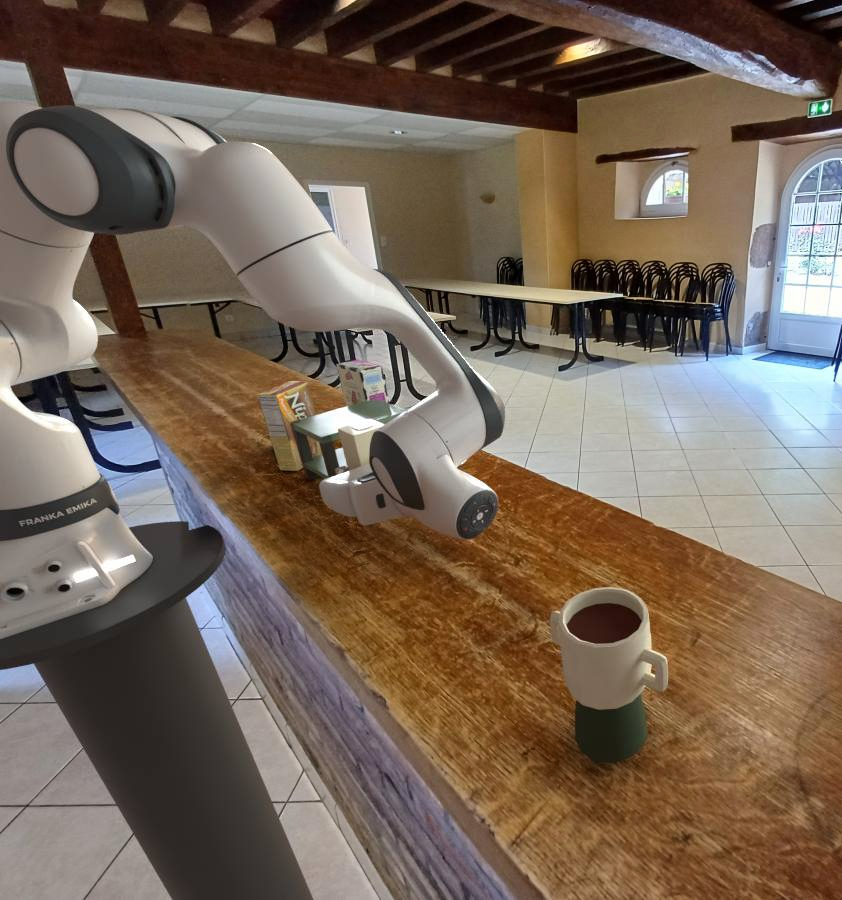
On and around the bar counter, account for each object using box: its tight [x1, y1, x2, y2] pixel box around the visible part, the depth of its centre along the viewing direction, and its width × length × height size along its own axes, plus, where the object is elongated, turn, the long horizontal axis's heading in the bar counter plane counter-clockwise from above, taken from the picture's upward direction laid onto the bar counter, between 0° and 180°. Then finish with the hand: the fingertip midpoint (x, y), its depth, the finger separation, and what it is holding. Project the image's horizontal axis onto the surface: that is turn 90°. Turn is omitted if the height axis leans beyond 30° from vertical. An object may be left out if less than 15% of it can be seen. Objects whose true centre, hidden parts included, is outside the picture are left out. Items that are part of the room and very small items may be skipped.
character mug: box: [549, 586, 669, 764], centre depth 45 cm, size 11×7×13 cm, turn 56°
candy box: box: [257, 380, 322, 472], centre depth 106 cm, size 9×4×15 cm, turn 171°
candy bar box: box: [335, 359, 390, 407], centre depth 116 cm, size 11×5×16 cm, turn 48°
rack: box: [290, 399, 408, 481], centre depth 101 cm, size 16×13×11 cm
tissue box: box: [338, 419, 385, 470], centre depth 89 cm, size 6×6×13 cm
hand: (368, 461), depth 89 cm, fingers open, 8 cm apart
